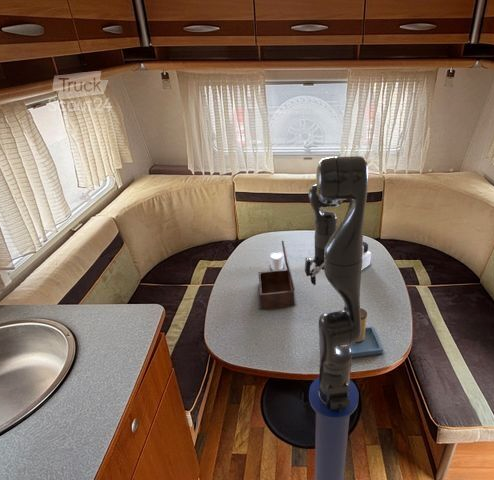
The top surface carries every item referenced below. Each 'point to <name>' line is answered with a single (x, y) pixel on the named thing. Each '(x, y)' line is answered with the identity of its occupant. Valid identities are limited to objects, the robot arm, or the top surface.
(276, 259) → the white cylinder
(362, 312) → the cookie roll
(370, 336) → the tray
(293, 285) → the chest lid
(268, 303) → the chest
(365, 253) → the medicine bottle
